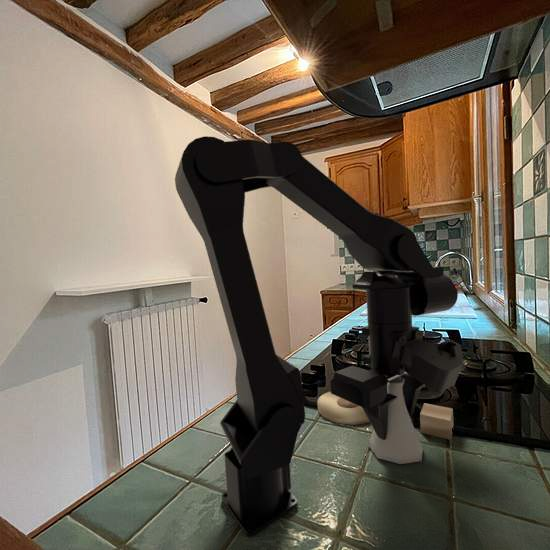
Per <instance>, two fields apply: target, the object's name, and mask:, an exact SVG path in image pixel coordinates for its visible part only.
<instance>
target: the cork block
mask: <svg viewBox="0 0 550 550" xmlns="http://www.w3.org/2000/svg"><path fill="white" fill-rule="evenodd" d="M419 422H420V423H419V424H420V433H422V434H426V435H430V436H434V437H437V438H442V439H446V440H449V441H452V436H453V432H452V428H453V429H454V427H453V426H454V410H453V408H451V407H447V406H441V405H437V404H436V405H435V404H430V403H425V402H424V403H423V406H422V407H421V411H420V414H419Z"/></svg>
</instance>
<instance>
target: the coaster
mask: <svg viewBox="0 0 550 550" xmlns="http://www.w3.org/2000/svg"><path fill="white" fill-rule="evenodd" d="M317 411H318V413H319V414H320V416H322V417H323V418H324V419H326V420H328V421H330V422H334V423H336V424H342V425H351V426H353V425H363V424H367V423H370V421H369V419H368V417H367V415H366V413H365V412H364V410H363V408H362V407H361V406H358V405H356V404H354V403H351V402H349V401H347V400H345V399H342V398H340V397H338V396H336V395H333V394H331V391H328V392H325V393H323V394H322V395H320V396H319V397H318V399H317Z"/></svg>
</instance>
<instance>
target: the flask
mask: <svg viewBox="0 0 550 550" xmlns="http://www.w3.org/2000/svg"><path fill="white" fill-rule="evenodd" d="M403 384H404V379H403V378H402V377H401V376H399V377H396V378H394V379H392V380H390V381H389V385H388V388H389V394H392V395H395V396H397V398H396V399H395V400H394V401H393V402H391V403H390V404H389V406H388V429H387V437H386V439H385V440H382V439H380V438H379V437H378V436H377V434H376V432H375V430H374V429H372V432H371V436H370V438H369V442H368V447H369V449H371V451H372V452H373V454H374V455H375V457H376V458H377V459H379V460H384V461H387V462H391V463H394V464H399V465H403V464H411V463H416V462H417V463H418V462H422V460H423V459H422V458H423V452H424V451H423V450H424V447H423V446H422V443H421V440H420V438H419V435H418V433H417V431H416V429H415V427H414V423H413V422H412V419H411V418H410V416H409V413H408V411H407V408H406V405H405V401H404V396H403V388H402V386H403Z"/></svg>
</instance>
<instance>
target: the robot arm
mask: <svg viewBox="0 0 550 550" xmlns="http://www.w3.org/2000/svg"><path fill="white" fill-rule="evenodd" d="M178 163H179V164H178V167H177V170H176V172H175V177H174V182H175V190H176V191H177V194H178V197H179V198H180V201H181V203H182V205H183V207H184V209H185V211H186V213H187V215H188V217H189V219H190V220H191V222H192V223H193V226H195V228H196V231H197V232H198V234H200V237H201V238H202V241H203V243H204V245H205V251H206V253H207V254H206V255H207V257H208V260H209V264H210V268H211V270H212V275H213V277H214V278H213V279H214V282H215V286H216V289H217V293H218V297H219V299H220V304H221V306H222V311H223V314H224V318H225V321H226V325H227V329H228V331H229V335H230V339H231V342H232V346H233V350H234V352H235V357H236V365H235V366H236V367H235V379H234V380H235V381H234V382H235V391H236V392H235V393H236V400H235V402H234V403H233V404H232V406H231V407H230V409H229V410H228V411H227V412H226V414H225V415H224V416H223V418H222V419H221V421H220V426H221V428H222V430H223V432H224V434H225V437H226V439H227V440H228V442H229V444H230V445H231V448H230V450H229V451H226V452H225V453H224V464H225V465H224V466H225V479H226V480H225V481H226V482H225V483H226V491H225V492H223V493H222V494H221V501H222V503H223V504H224V505H225V508H227V510H228V511H229V513H230V515H231V516H232V517H233V518H234V520H235V521H236V522H237V525H239V527H240V529H241V530H242V531H243V533H244V534H245V536H246V537H253V536H254V535H256V534H257V533H259V532H260V531H262V530H264V529H265V528H267V527H268V526H269V525H271V524H272V523H274V522H275V521H277V520H278V519H281V517H283V516H285V515H286V514H287V513H289V512H290V511H293V509H295V508H297V507H298V505H299V504H298V503H299V502H298V498H297V497H296V496H295V495H294V494H293V493H292V492H291V491H289V490H291V489H292V482H291V481H292V480H291V476H292V475H291V463H292V458H293V454H294V451H295V447H296V442H297V438H298V435H299V432H300V430H301V428H302V425H304V424H305V421H306V412H305V411H306V409H305V405H308V404H309V403H310V401H309V400H308V399H307V397H306V396H305V394H304V389H303V385H302V382H303V381H302V375H301V373H300V369H299V368H298V367H296V366H295V365H294V364H292V363H290V362H289V361H288V360H286V359H284V358H282V357H281V356H279V355H277V353H276V351H275V346H274V342H273V339H272V336H271V332H270V327H269V324H268V320H267V316H266V311H265V308H264V304H263V300H262V296H261V293H260V290H259V285H258V280H257V278H256V274H255V270H254V267H253V266H254V265H253V263H252V262H253V261H252V259H251V255H250V250H249V246H248V244H247V240H246V237H245V232H244V217H245V216H244V215H245V204H246V203H245V202H246V200H245V199H246V193H250V192H252V191H257V190H259V189H260V190H261V189H267V188H270V187H271V188H273V189H274V190H276V191H277V192H279V193H280V194H281V195H283V196H284V197H286V198H287V199H288V200H289V201H291V202H292V203H294V204H295V205H296V206H297V207H299V208H300V209H302V210H303V212H304V211H305V213H307V214H308V215H310V216H311V217H312V218H313V219H315V220H316V221H317V222H319V223H320V224H322V225H323V226H324V227H326V228H327V229H328V230H329V231H331V232H332V233H334V235H336V236H338V238H340V240H341V241H342V242H343V243H344V244H345V247H346V250H347V252H348V254H349V255H350V256H351V257H352V258H353V260H355V261H356V262H357V264H359V266H360V267H361V268H363V269H365V270H366V271H363V272H362V274H361V276H360V277H359V278H358V279H357V280H356V281H354V283H353V284H352V289H353V290H360V291H361V290H362V291H365V293H366V295H365V296H366V313H367V315H366V316H367V326H363V327H362V326H361V335H362V336H368V352H369V353H368V354H365V355H363V356H362V363H363V364H365V365H367V366H370V367H371V369H369V370H367V369H365V368H361V367H357V366H355V365H350V366H348V367H345V368H343V369H340V370H337V371H334V373H332V374H331V376H330V377H329V381H330V392H331V394H333V395H336V396H338V397H340V398H342V399H345V400H347V401H349V402H351V403H354V404H356V405H358V406H361V407H362V408H363V410H364V412H365V413H366V415H367V417H368V419H369V421H370V422H369V423H370V424H371V427H372V428H373V429H374V430H375V432H376V434H377V436H378V437H379V438H380V439H382V440H385V439H386V437H387V429H388V406H389V404H390V403H391V402H393V401H394V400H395V399H396V398H397V396H395V395H392V394H389V388H388V385H389V381H390V380H392V379H394V378H396V377H399V376H401V377H402V378H403V379H404V384H403V386H402V388H403V396H404V401H405V405H406V408H407V411H408V413H409V416H410V418H411V420H412V419H413V415H414V411H415V410H416V409H415V408H416V405H417V401H418V399H419V394H420V392H421V390H422V388H423V387H424V386H425V388H426V389H428V390H430V391H431V392H433V393H437V394H442V393H444V392H445V390H447V389H449V388H451V387H454V386H455V385H456V381H457V379H458V377H459V374H460V372H462V371H464V370H465V369H466V363H465V361H466V359H465V358H464V356H463V355H464V354H463V350H462V345H461V344H460V343H459V342H456V341H454V340H452V339H448V340H446V341H443V342H441V343H440V344H439V345H437V343H436V342H432V343H428V342H426V341H424V340H423V338H422V330H420V327H419V326H413V317H414V316H415V317H416V316H422V315H423V316H424V315H429V314H435V313H439V312H440V313H441V312H445V311H446V312H447V311H449V310H450V309H452V308H454V306H455V305H456V303H457V302H458V301H457V300H458V295H459V294H458V293H459V292H458V289H457V288H456V285H455V283H454V282H453V280H452V279H451V278H450V277H449V276H448V275H446V274H445V273H444V267H443V266H433V265H432V263H431V262H430V260H429V258H428V257H427V255H426V253H425V252H424V249H422V246H421V245H420V243H419V241H418V237H417V236H416V234H415V232H414V231H413V230H412V229H411V228H409V227H408V226H406V225H405V224H403V223H401V222H399V221H397V220H395V219H394V218H390V217H388V216H383V215H380V214H376V213H373V212H372V211H370V210H368V209H367V208H366V207H364V205H362V204H360V202H359V201H357V200H356V199H355V198H354V197H353V196H351V195H350V194H349V193H348V192H347V191H346V190H344V189H343V188H342V187H340V186H339V185H338V184H337V183H335V181H333V180H332V179H331V178H329V177H328V176H327V175H326V174H324V173H323V172H322V171H321V170H320V169H318V167H317V166H315V165H314V164H312V162H310V161H309V160H308V159H306V157H304V156H303V155H302V153H301V151H300V149H299V147H298V146H297V145H296V144H294V143H292V142H290V141H277V142H265V141H260V140H255V139H241V140H240V139H238V140H229V141H225V140H223V139H220V138H217V137H215V136H205V135H204V136H201V137H197V138H195V139H194V140H192V141H190V142H189V143H188V144H187V146H186V147H185V149H184V150H183V152H182V155H181V158H180V161H179V162H178ZM373 429H372V430H373Z"/></svg>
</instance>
